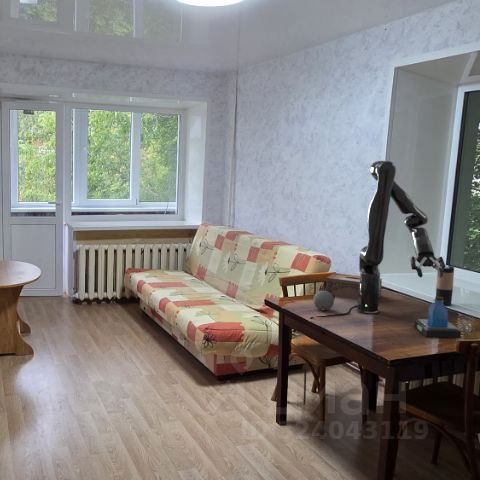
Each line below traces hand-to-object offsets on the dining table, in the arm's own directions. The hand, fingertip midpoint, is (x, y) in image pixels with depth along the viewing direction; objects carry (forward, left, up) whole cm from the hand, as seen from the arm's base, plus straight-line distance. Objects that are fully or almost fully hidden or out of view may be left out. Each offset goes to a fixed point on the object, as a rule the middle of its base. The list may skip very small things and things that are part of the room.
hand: (431, 276), depth 240 cm
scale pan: (-1, -12, -19) cm, 23 cm away
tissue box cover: (-22, +48, -23) cm, 58 cm away
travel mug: (+20, +33, -23) cm, 45 cm away
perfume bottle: (0, -11, -19) cm, 22 cm away
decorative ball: (-44, +19, -23) cm, 53 cm away
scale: (-1, -12, -22) cm, 25 cm away
